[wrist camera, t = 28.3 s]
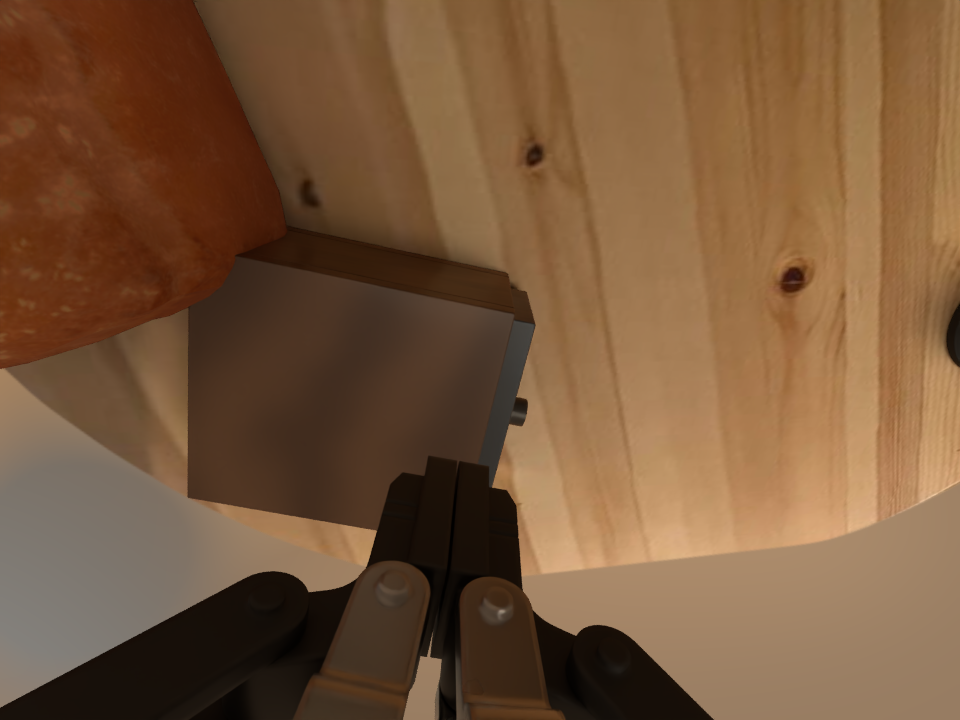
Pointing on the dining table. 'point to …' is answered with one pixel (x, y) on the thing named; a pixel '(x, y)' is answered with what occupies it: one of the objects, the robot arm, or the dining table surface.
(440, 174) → the dining table surface
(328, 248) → the cabinet
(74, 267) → the bread
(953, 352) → the coaster
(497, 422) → the drawer
